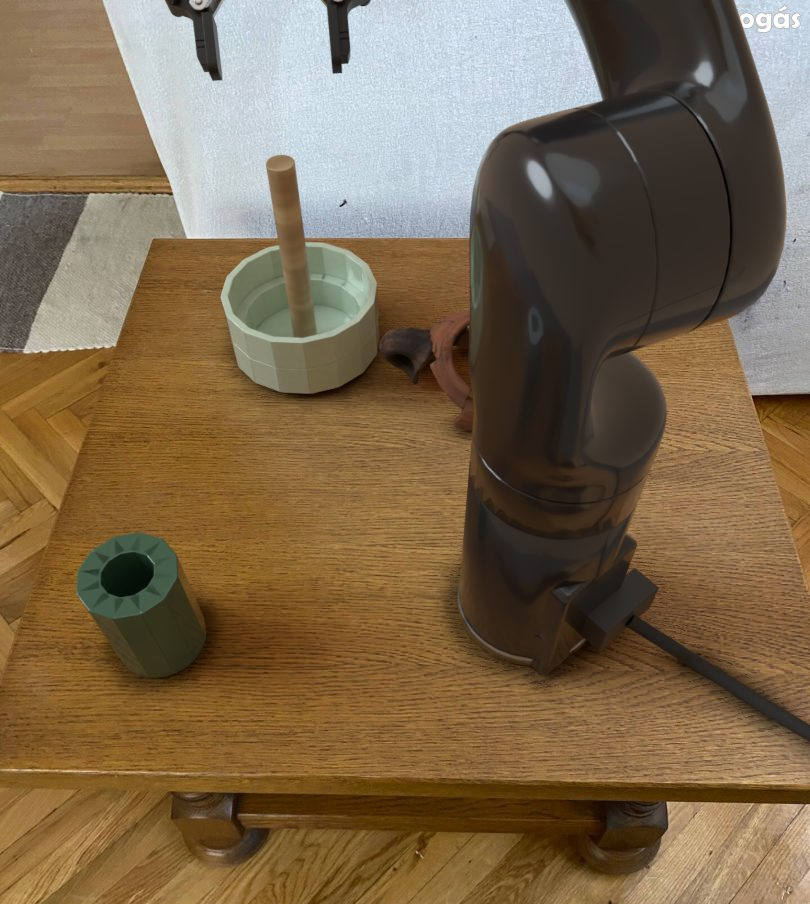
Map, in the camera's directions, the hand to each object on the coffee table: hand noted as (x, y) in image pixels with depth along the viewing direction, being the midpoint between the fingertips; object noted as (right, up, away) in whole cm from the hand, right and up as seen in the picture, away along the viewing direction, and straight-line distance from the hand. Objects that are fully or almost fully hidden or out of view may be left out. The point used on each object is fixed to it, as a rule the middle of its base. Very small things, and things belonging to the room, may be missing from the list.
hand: (276, 73), depth 58 cm
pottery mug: (+13, -21, +9) cm, 26 cm away
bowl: (+1, -16, +12) cm, 20 cm away
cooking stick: (+1, -16, +12) cm, 20 cm away
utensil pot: (-7, -39, -3) cm, 40 cm away
